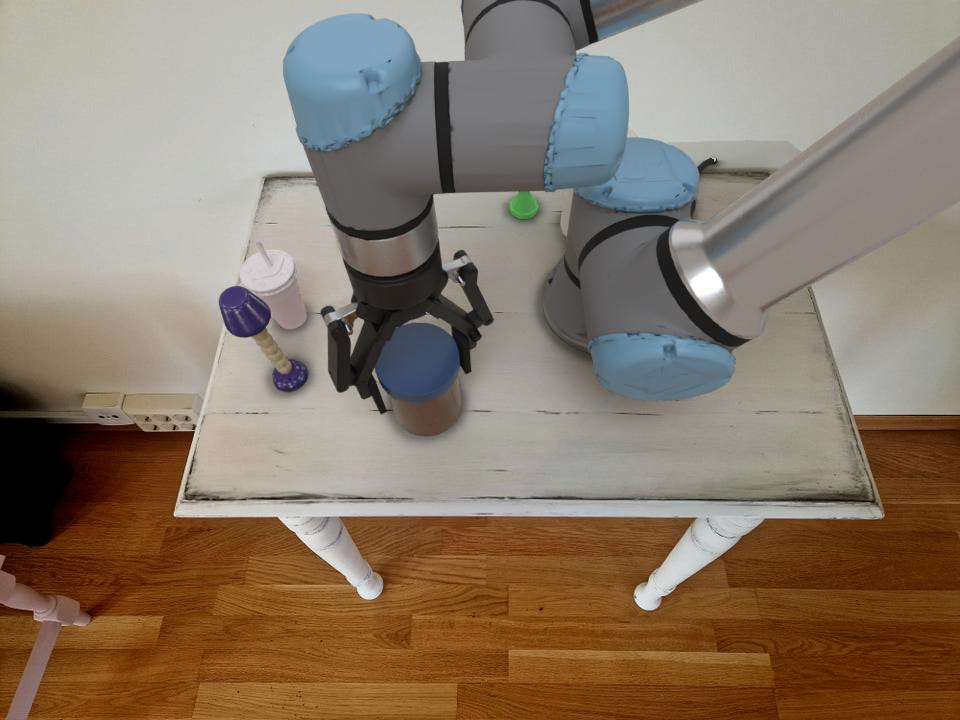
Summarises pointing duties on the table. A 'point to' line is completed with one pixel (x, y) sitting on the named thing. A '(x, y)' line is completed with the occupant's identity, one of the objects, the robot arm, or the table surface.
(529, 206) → the game piece
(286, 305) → the smoothie
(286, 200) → the table surface
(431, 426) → the jar
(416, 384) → the jar lid
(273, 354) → the toy lamp
